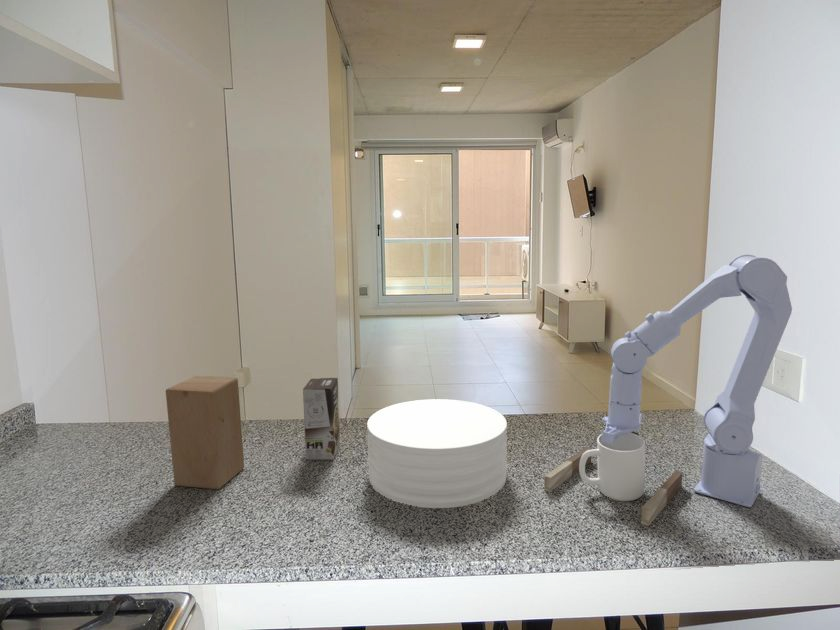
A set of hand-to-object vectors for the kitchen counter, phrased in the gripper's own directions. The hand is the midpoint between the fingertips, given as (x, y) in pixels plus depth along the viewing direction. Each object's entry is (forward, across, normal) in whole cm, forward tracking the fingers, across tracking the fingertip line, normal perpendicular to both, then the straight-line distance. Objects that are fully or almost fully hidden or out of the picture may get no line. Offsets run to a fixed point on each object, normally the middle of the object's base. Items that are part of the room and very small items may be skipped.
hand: (620, 466), depth 109 cm
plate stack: (+4, +21, -30) cm, 36 cm away
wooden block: (+4, +52, -64) cm, 83 cm away
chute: (+3, +4, 0) cm, 5 cm away
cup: (+3, +6, +1) cm, 6 cm away
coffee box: (+4, +29, -56) cm, 63 cm away
